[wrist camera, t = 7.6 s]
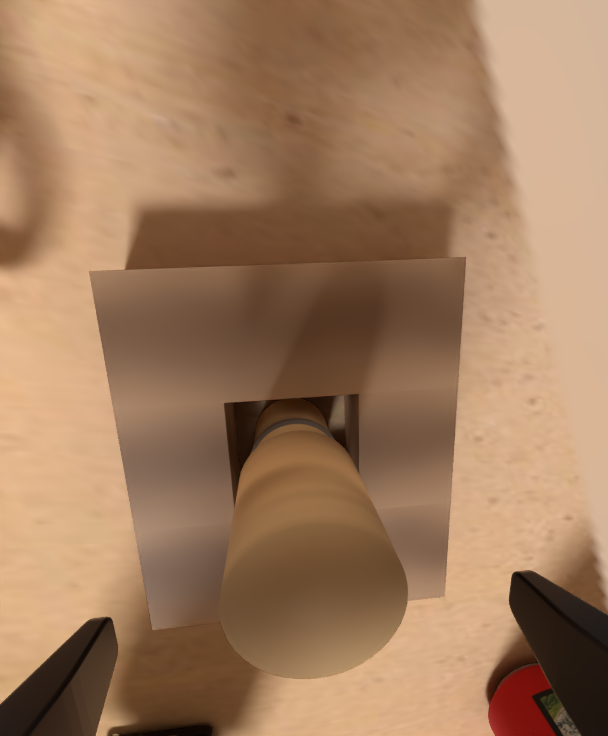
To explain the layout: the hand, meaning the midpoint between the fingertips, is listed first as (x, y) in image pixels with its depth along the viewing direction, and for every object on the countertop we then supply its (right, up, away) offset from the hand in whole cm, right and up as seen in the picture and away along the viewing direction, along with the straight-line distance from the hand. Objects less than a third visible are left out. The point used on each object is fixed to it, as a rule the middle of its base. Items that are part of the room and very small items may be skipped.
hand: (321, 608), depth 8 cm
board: (-1, +2, +10) cm, 10 cm away
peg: (-1, +2, +10) cm, 10 cm away
